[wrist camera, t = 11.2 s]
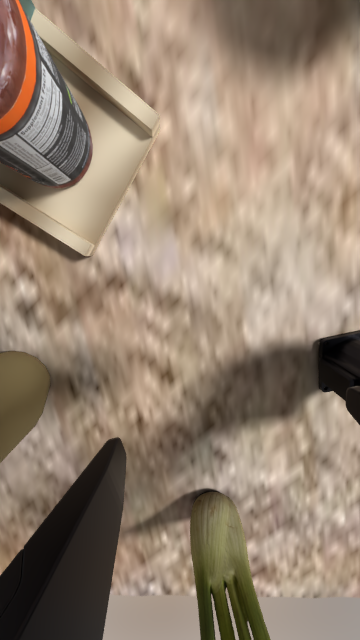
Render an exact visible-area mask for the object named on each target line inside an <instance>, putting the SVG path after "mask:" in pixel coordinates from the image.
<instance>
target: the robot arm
mask: <svg viewBox="0 0 360 640" xmlns="http://www.w3.org/2000/svg"><path fill="white" fill-rule="evenodd" d="M325 343H326V344H325ZM319 389H320V390H321V391H323V392H330V391H334V392H335V393H336V394H338V395H339V396H340V397H341V398H343V399H344V400H345V401H346V408H347V410H348V411H349V413H350V414H351V415H352V416H353V418H354V419H355V420H356V421H357V422H358V424H359V425H360V331H357V332H352V333H348V334H343V335H338V336H333V337H329V338H324V339H322V340H321V341H320V353H319ZM125 473H126V452H125V449H124V447H123V444H122V441H121V439H120V438H119V437H117V438H112V439H109V440H108V441H107V442H106V443H105V445H104V446H103V447H102V448H101V450H100V451H99V452H98V453H97V455H96V456H95V457H94V458H93V460H92V461H91V462H90V463H89V465H88V466H87V467H86V469H85V470H84V471H83V472H82V474H81V475H80V476H79V477H78V479H77V480H76V481H75V482H74V484H73V485H72V486H71V487H70V489H69V490H68V491H67V493H66V494H65V495H64V496H63V498H62V499H61V500H60V501H59V503H58V504H57V505H56V506H55V508H54V509H53V510H52V511H51V513H50V514H49V515H48V516H47V518H46V519H45V520H44V522H43V523H42V524H41V525H40V527H39V528H38V529H37V530H36V532H35V533H34V534H33V535H32V537H31V538H30V539H29V540H28V542H27V543H26V544H25V546H24V549H22V550H20V552H19V553H18V554H17V555H16V557H15V558H14V559H13V561H12V562H11V563H10V564H9V566H8V567H7V568H6V569H5V571H4V572H3V573H2V574H1V575H0V640H102V639H103V632H104V626H105V619H106V613H107V607H108V600H109V594H110V588H111V582H112V575H113V569H114V563H115V556H116V550H117V544H118V537H119V531H120V525H121V518H122V511H123V502H124V488H125Z"/></svg>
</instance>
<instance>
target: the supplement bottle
mask: <svg viewBox="0 0 360 640" xmlns="http://www.w3.org/2000/svg"><path fill="white" fill-rule="evenodd" d="M92 154H93V143H92V137H91V133H90V129H89V126H88V123H87V121H86V119H85V117H84V115H83V112H82V111H81V109H80V107H79V105H78V103H77V102H76V100H75V98H74V96H73V95H72V93H71V91H70V89H69V88H68V86H67V84H66V82H65V80H64V79H63V77H62V75H61V74H60V72H59V70H58V68H57V66H56V65H55V63H54V61H53V59H52V57H51V55H50V54H49V52H48V51H47V49H46V47H45V45H44V44H43V42H42V40H41V38H40V37H39V35H38V33H37V31H36V30H35V28H34V26H33V24H32V23H31V21H30V19H29V17H28V16H27V14H26V12H25V10H24V9H23V7H22V5H21V3H20V1H19V0H0V163H2V164H4V165H6V166H7V167H9V168H11V169H12V170H14V171H16V172H18V173H20V174H21V175H23V176H25V177H26V178H28V179H30V180H32V181H34V182H36V183H39V184H41V185H44V186H47V187H51V188H65V187H68V186H71V185H74V184H75V183H77V182H78V181H80V180H81V179H82V178H83V176H84V175H85V173H86V172H87V170H88V168H89V166H90V163H91V160H92Z"/></svg>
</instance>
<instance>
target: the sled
mask: <svg viewBox="0 0 360 640" xmlns="http://www.w3.org/2000/svg"><path fill="white" fill-rule="evenodd" d="M19 1H20V3H21V5H22V7H23V9H24V10H25V12H26V14H27V16H28V17H29V19H30V21H31V23H32V24H33V26H34V28H35V30H36V31H37V33H38V35H39V37H40V38H41V40H42V42H43V44H44V45H45V47H46V49H47V51H48V52H49V54H50V55H51V57H52V59H53V61H54V63H55V65H56V66H57V68H58V70H59V72H60V74H61V75H62V77H63V79H64V80H65V82H66V84H67V86H68V88H69V89H70V91H71V93H72V95H73V96H74V98H75V100H76V102H77V103H78V105H79V107H80V109H81V111H82V112H83V115H84V117H85V119H86V121H87V123H88V126H89V129H90V133H91V137H92V143H93V154H92V160H91V163H90V166H89V168H88V170H87V172H86V173H85V175H84V176H83V178H82V179H81V180H80V181H78V182H77V183H75V184H74V185H71V186H68V187H65V188H51V187H47V186H44V185H41V184H39V183H36V182H34V181H32V180H30V179H28V178H26V177H25V176H23V175H21V174H20V173H18V172H16V171H14V170H12V169H11V168H9V167H7V166H6V165H4V164H2V163H0V203H1V204H3V205H4V206H6V207H7V208H9V209H11V210H12V211H14V212H15V213H17V214H19V215H20V216H22V217H23V218H25V219H27V220H28V221H30V222H31V223H33V224H34V225H36V226H38V227H39V228H41V229H42V230H44V231H46V232H47V233H49V234H50V235H52V236H54V237H55V238H57V239H58V240H60V241H62V242H63V243H65V244H66V245H68V246H70V247H71V248H73V249H74V250H76V251H77V252H79V253H81V254H82V255H84V256H93V254H94V252H95V250H96V248H97V246H98V245H99V243H100V241H101V239H102V237H103V235H104V233H105V232H106V230H107V228H108V226H109V224H110V222H111V220H112V219H113V217H114V215H115V213H116V211H117V209H118V208H119V206H120V204H121V202H122V200H123V198H124V196H125V195H126V193H127V191H128V189H129V187H130V185H131V183H132V182H133V180H134V178H135V176H136V174H137V172H138V171H139V169H140V167H141V165H142V163H143V161H144V159H145V158H146V156H147V154H148V152H149V150H150V148H151V147H152V145H153V143H154V141H155V139H156V137H157V135H158V134H159V132H160V115H159V114H158V113H157V112H155V111H154V110H153V109H152V108H151V107H150V106H148V105H147V104H146V103H145V102H144V101H143V100H141V99H140V98H139V97H138V96H137V95H136V94H134V93H133V92H132V91H131V90H130V89H129V88H128V87H126V86H125V85H124V84H123V83H122V82H121V81H119V80H118V79H117V78H116V77H115V76H114V75H112V74H111V73H110V72H109V71H108V70H107V69H105V68H104V67H103V66H102V65H101V64H100V63H98V62H97V61H96V60H95V59H94V58H93V57H91V56H90V55H89V54H88V53H87V52H86V51H85V50H83V49H82V48H81V47H80V46H79V45H78V44H76V43H75V42H74V41H73V40H72V39H71V38H69V37H68V36H67V35H66V34H65V33H64V32H62V31H61V30H60V29H59V28H58V27H57V26H55V25H54V24H53V23H52V22H51V21H50V20H49V19H47V18H46V17H45V16H44V15H43V14H42V13H40V12H39V11H38V10H37V9H36V8H35V7H34V5H33V3H32V1H31V0H19Z"/></svg>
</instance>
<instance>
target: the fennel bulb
mask: <svg viewBox="0 0 360 640" xmlns="http://www.w3.org/2000/svg"><path fill="white" fill-rule="evenodd" d="M190 540H191V554H192V561H193V568H194V575H195V583H196V591H197V600H198V609H199V621H200V634H201V640H215V630H214V621H213V610H212V601H211V593H212V596H213V599H214V605H215V610H216V616H217V620H218V625H219V631H220V636H221V640H235V635H234V630H233V626H232V621H231V616H230V612H229V608H228V603H227V598H226V593H225V590H226V587H227V590H228V593H229V598H230V602H231V606H232V610H233V615H234V618H235V623H236V628H237V632H238V636H239V640H251V636H250V633H249V629H248V625H247V621H249V624H250V628H251V631H252V635H253V638H254V640H270V637H269V634H268V631H267V628H266V625H265V622H264V619H263V615H262V612H261V609H260V606H259V602H258V599H257V596H256V593H255V589H254V585H253V582H252V578H251V572H250V567H249V560H248V554H247V547H246V541H245V536H244V532H243V528H242V524H241V520H240V517H239V514H238V511H237V509H236V506H235V504H234V503H233V501H232V500H231V499H230V498H229V497H227V496H225V495H224V494H221V493H219V492H207V493H204V494H201V495H200V496H199V497H198V498H197V499H196V500H195V502H194V504H193V507H192V513H191V521H190Z"/></svg>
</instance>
